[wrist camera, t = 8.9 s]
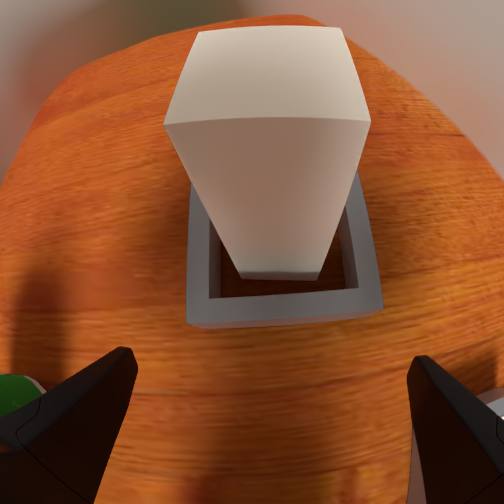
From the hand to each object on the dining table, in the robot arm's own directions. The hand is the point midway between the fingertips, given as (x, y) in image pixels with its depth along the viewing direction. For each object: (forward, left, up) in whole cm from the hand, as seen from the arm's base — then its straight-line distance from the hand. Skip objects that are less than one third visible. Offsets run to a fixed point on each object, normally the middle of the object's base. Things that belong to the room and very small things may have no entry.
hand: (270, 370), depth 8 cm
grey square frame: (+7, -1, -8) cm, 11 cm away
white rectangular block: (+7, -1, -8) cm, 11 cm away
